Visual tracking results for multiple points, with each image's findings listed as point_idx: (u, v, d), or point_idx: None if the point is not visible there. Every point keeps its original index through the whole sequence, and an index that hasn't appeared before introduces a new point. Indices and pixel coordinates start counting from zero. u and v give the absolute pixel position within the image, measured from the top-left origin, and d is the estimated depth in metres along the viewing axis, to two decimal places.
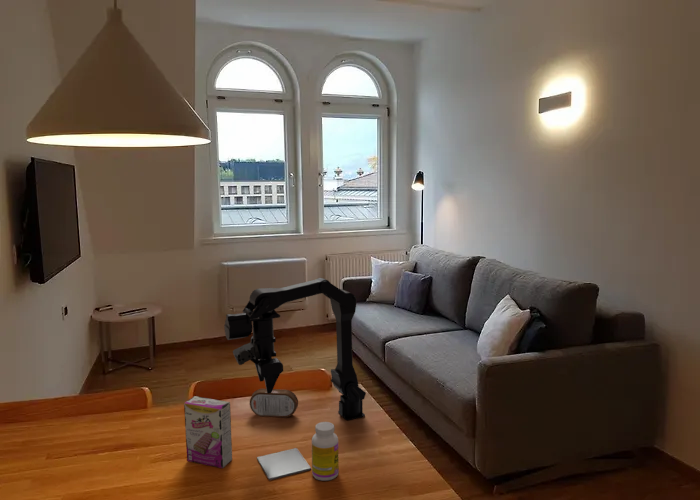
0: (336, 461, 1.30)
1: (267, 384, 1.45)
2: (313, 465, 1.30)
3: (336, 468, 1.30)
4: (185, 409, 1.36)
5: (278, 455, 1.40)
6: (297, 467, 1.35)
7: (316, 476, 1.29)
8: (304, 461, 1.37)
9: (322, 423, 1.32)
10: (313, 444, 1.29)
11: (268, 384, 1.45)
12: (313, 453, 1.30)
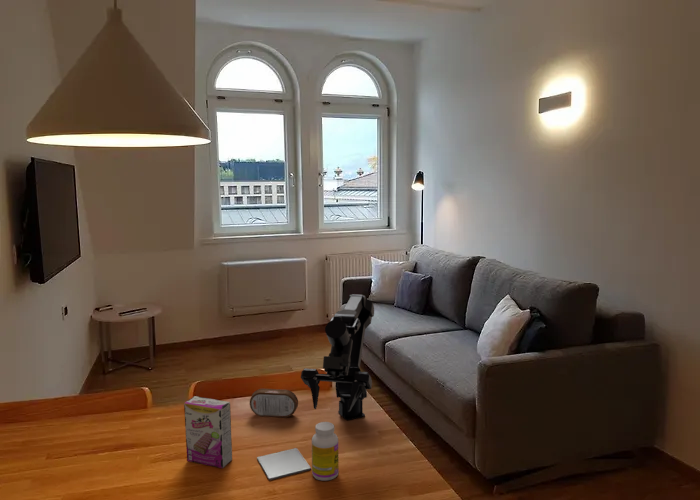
0: (336, 461, 1.30)
1: (353, 399, 1.38)
2: (313, 465, 1.30)
3: (336, 468, 1.30)
4: (185, 409, 1.36)
5: (278, 455, 1.40)
6: (297, 467, 1.35)
7: (316, 476, 1.29)
8: (304, 461, 1.37)
9: (322, 423, 1.32)
10: (313, 444, 1.29)
11: (353, 399, 1.38)
12: (313, 453, 1.30)
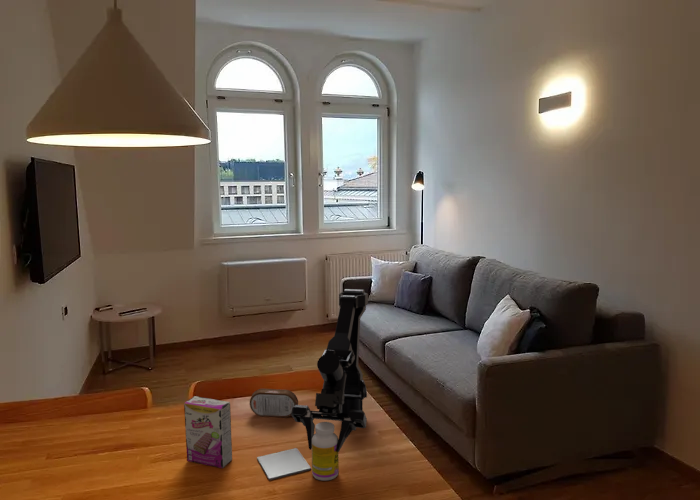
0: (336, 461, 1.30)
1: (343, 439, 1.30)
2: (313, 465, 1.30)
3: (336, 468, 1.30)
4: (185, 409, 1.36)
5: (278, 455, 1.40)
6: (297, 467, 1.35)
7: (316, 476, 1.29)
8: (304, 461, 1.37)
9: (322, 423, 1.32)
10: (313, 444, 1.29)
11: (343, 439, 1.30)
12: (313, 453, 1.30)
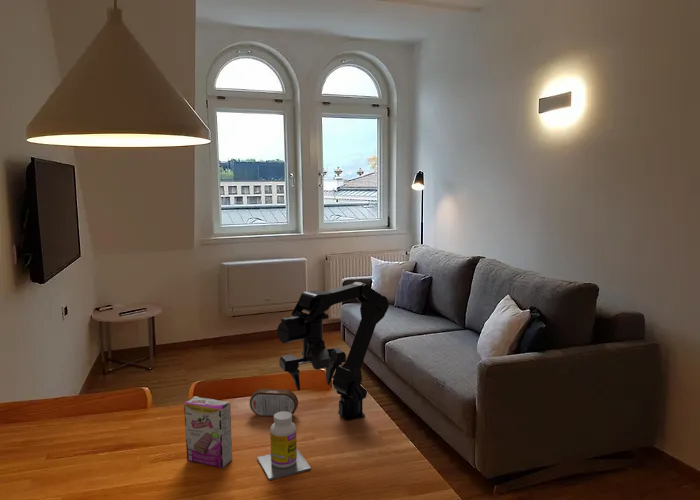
0: (290, 451, 1.34)
1: None
2: None
3: (290, 458, 1.34)
4: (185, 409, 1.36)
5: None
6: (297, 467, 1.35)
7: (272, 461, 1.35)
8: (304, 461, 1.37)
9: (283, 412, 1.37)
10: (270, 430, 1.35)
11: None
12: None
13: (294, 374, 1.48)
